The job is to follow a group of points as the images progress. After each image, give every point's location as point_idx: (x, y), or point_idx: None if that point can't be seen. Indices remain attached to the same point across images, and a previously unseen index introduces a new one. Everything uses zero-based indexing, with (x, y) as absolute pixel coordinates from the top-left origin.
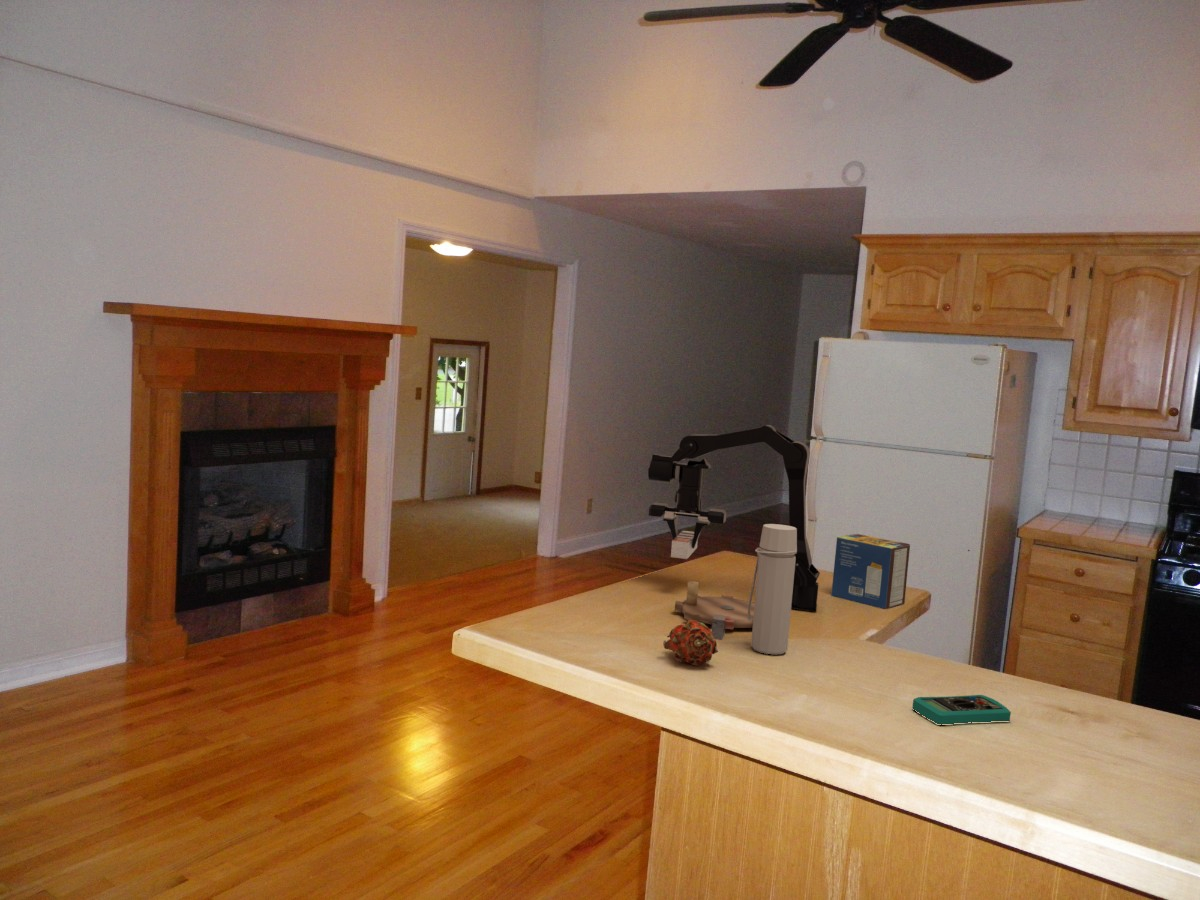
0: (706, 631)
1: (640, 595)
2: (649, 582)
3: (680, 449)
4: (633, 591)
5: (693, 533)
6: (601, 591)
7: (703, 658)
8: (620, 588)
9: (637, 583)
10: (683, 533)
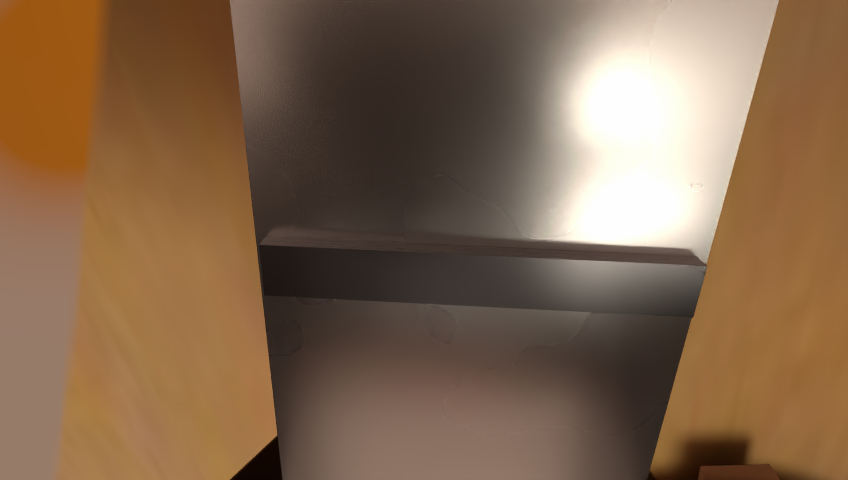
0: None
1: (264, 429)
2: (202, 105)
3: None
4: (204, 374)
5: (626, 281)
6: (73, 438)
7: None
8: (119, 346)
9: (146, 179)
10: (346, 309)
